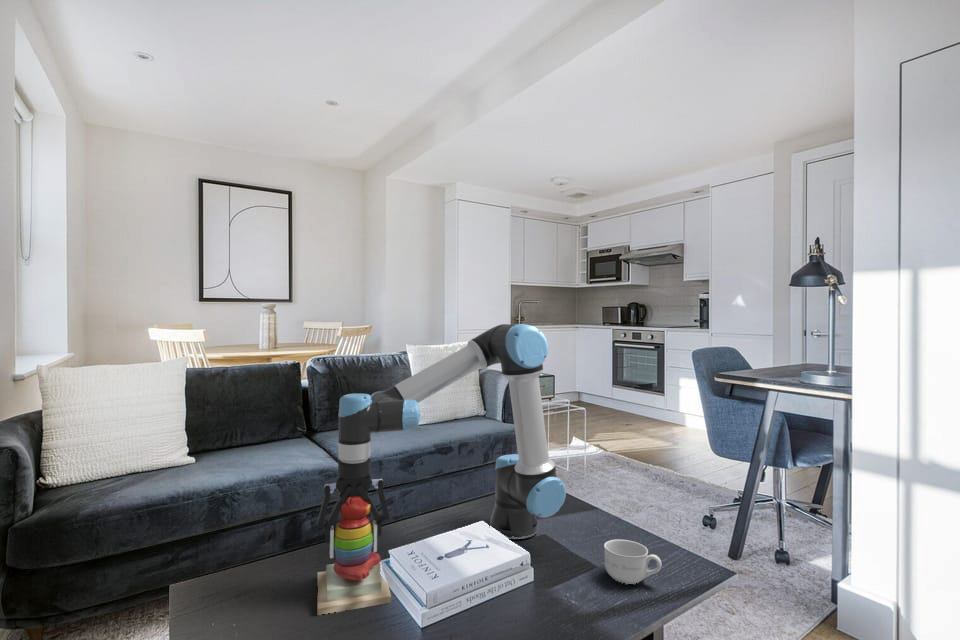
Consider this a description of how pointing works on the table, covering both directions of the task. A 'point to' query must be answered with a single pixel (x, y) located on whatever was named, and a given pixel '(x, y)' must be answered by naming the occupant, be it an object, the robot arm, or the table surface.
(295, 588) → the table surface
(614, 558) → the teacup
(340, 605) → the plinth
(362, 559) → the stacking bear
